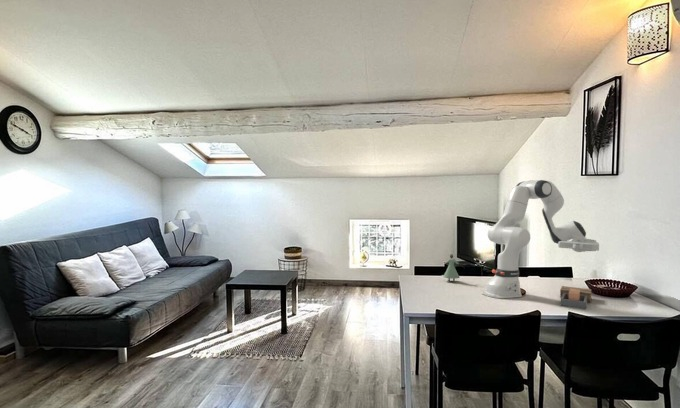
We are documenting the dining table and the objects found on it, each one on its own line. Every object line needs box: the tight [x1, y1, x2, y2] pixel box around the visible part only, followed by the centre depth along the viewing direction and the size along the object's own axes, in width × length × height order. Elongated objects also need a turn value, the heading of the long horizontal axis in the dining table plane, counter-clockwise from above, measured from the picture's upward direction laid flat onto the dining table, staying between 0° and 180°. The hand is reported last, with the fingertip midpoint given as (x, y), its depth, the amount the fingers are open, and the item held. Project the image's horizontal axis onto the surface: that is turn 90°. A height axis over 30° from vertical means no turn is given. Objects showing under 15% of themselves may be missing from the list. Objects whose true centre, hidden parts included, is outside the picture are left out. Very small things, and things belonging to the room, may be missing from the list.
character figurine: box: [441, 254, 464, 282], centre depth 254 cm, size 16×8×18 cm, turn 80°
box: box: [560, 293, 588, 310], centre depth 202 cm, size 15×11×4 cm
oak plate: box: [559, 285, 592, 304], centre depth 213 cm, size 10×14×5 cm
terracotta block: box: [569, 289, 580, 301], centre depth 203 cm, size 6×4×10 cm
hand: (577, 246), depth 219 cm, fingers closed
